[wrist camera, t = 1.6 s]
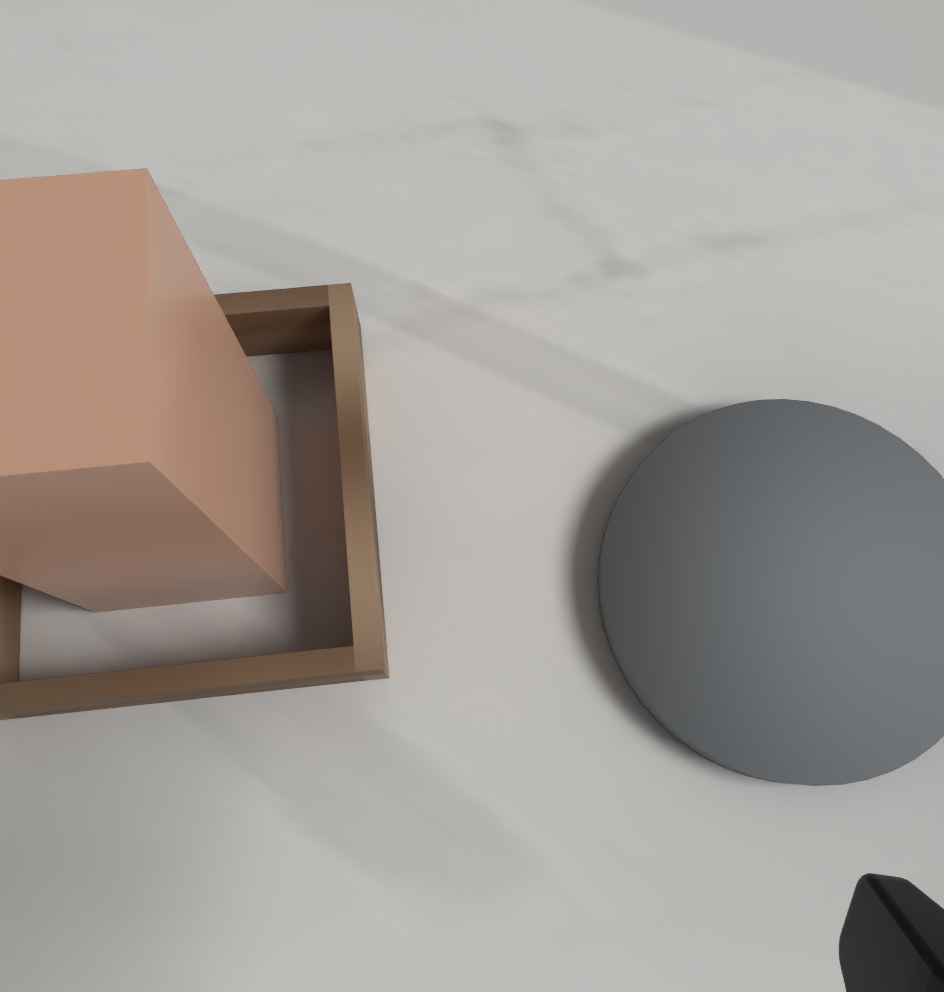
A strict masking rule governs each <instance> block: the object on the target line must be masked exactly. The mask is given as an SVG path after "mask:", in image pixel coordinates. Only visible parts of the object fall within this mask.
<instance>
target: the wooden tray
mask: <svg viewBox="0 0 944 992" xmlns="http://www.w3.org/2000/svg"><path fill="white" fill-rule="evenodd" d="M214 296H215V298H216V300H217V302H218V304H219V306H220V308H221V309H222V311H223V313H224V315H225V317H226V319H227V321H228V323H229V325H230V327H231V328H232V330H233V332H234V334H235V336H236V338H237V340H238V342H239V344H240V346H241V347H242V349H243V351H244V353H245V355H246V356H256V355H267V354H278V353H289V352H300V351H311V350H322V349H332V351H333V365H334V379H335V393H336V407H337V421H338V435H339V449H340V463H341V477H342V491H343V505H344V519H345V534H346V548H347V562H348V576H349V590H350V604H351V618H352V632H353V646H347V647H337V648H328V649H318V650H309V651H300V652H290V653H281V654H272V655H262V656H253V657H243V658H234V659H225V660H215V661H206V662H196V663H187V664H178V665H168V666H159V667H150V668H140V669H131V670H121V671H112V672H103V673H93V674H84V675H74V676H65V677H56V678H46V679H37V680H28V681H19V652H20V620H21V588H22V584H21V583H19V582H16V581H14V580H11V579H8V578H6V577H3V576H1V575H0V720H5V719H14V718H24V717H33V716H42V715H51V714H61V713H70V712H79V711H88V710H97V709H107V708H116V707H125V706H134V705H143V704H153V703H162V702H171V701H180V700H190V699H199V698H208V697H217V696H226V695H236V694H245V693H254V692H263V691H273V690H282V689H291V688H300V687H309V686H319V685H328V684H337V683H346V682H356V681H365V680H374V679H383V678H389V671H388V658H387V646H386V634H385V621H384V609H383V597H382V585H381V572H380V560H379V548H378V536H377V523H376V511H375V499H374V486H373V474H372V462H371V450H370V437H369V425H368V413H367V400H366V388H365V376H364V364H363V351H362V339H361V327H360V322H359V318H358V313H357V309H356V304H355V300H354V295H353V291H352V286H351V283H345V284H333V285H322V286H310V287H299V288H287V289H276V290H264V291H253V292H241V293H230V294H218V295H214Z"/></svg>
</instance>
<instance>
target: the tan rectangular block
mask: <svg viewBox="0 0 944 992" xmlns="http://www.w3.org/2000/svg"><path fill="white" fill-rule="evenodd" d="M0 575H1V576H3V577H6V578H8V579H11V580H14V581H16V582H19V583H21V584H24V585H26V586H29V587H31V588H34V589H37V590H39V591H42V592H44V593H47V594H49V595H52V596H54V597H57V598H60V599H62V600H65V601H67V602H70V603H72V604H75V605H78V606H80V607H83V608H85V609H88V610H90V611H93V612H103V611H113V610H123V609H133V608H142V607H152V606H162V605H171V604H181V603H191V602H200V601H210V600H220V599H229V598H239V597H249V596H258V595H268V594H278V593H287V584H286V564H285V545H284V526H283V506H282V487H281V468H280V449H279V429H278V416H277V414H276V412H275V410H274V408H273V406H272V404H271V402H270V401H269V399H268V397H267V395H266V393H265V391H264V389H263V387H262V385H261V383H260V382H259V380H258V378H257V376H256V374H255V372H254V370H253V368H252V366H251V364H250V363H249V361H248V359H247V357H246V355H245V353H244V351H243V349H242V347H241V346H240V344H239V342H238V340H237V338H236V336H235V334H234V332H233V330H232V328H231V327H230V325H229V323H228V321H227V319H226V317H225V315H224V313H223V311H222V309H221V308H220V306H219V304H218V302H217V300H216V298H215V296H214V294H213V292H212V291H211V289H210V287H209V285H208V283H207V281H206V279H205V277H204V275H203V273H202V272H201V270H200V268H199V266H198V264H197V262H196V260H195V258H194V256H193V254H192V253H191V251H190V249H189V247H188V245H187V243H186V241H185V239H184V237H183V236H182V234H181V232H180V230H179V228H178V226H177V224H176V222H175V220H174V218H173V217H172V215H171V213H170V211H169V209H168V207H167V205H166V203H165V201H164V199H163V198H162V196H161V194H160V192H159V190H158V188H157V186H156V184H155V182H154V181H153V179H152V177H151V175H150V173H149V171H148V169H147V168H145V169H132V170H120V171H108V172H95V173H83V174H70V175H58V176H45V177H33V178H21V179H8V180H0Z"/></svg>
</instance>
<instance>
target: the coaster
mask: <svg viewBox="0 0 944 992" xmlns="http://www.w3.org/2000/svg"><path fill="white" fill-rule="evenodd" d="M598 591H599V603H600V610H601V615H602V620H603V624H604V629H605V633H606V636H607V638H608V641H609V644H610V647H611V650H612V653H613V655H614V658H615V660H616V661H617V663H618V665H619V667H620V669H621V671H622V673H623V675H624V677H625V679H626V681H627V682H628V684H629V685H630V687H631V688H632V690H633V691H634V693H635V694H636V696H637V697H638V699H639V700H640V702H641V703H642V704H643V705H644V706H645V707H646V708H647V710H648V711H649V712H650V713H651V714H652V715H653V717H654V718H655V719H656V720H657V721H658V722H659V723H660V724H661V725H662V726H663V727H665V728H666V729H667V730H668V731H669V732H670V733H671V734H672V735H673V736H675V737H676V738H677V739H678V740H680V741H681V742H682V743H684V744H685V745H687V746H688V747H690V748H691V749H692V750H694V751H695V752H697V753H698V754H700V755H702V756H703V757H705V758H707V759H709V760H711V761H713V762H715V763H717V764H719V765H721V766H722V767H725V768H728V769H730V770H733V771H736V772H738V773H741V774H744V775H746V776H750V777H754V778H759V779H763V780H767V781H772V782H780V783H791V784H801V785H812V786H820V785H842V784H847V783H852V782H858V781H863V780H868V779H871V778H874V777H877V776H879V775H882V774H885V773H888V772H891V771H893V770H895V769H897V768H899V767H901V766H903V765H905V764H907V763H909V762H911V761H912V760H914V759H916V758H917V757H919V756H920V755H921V754H923V753H924V752H925V751H927V750H928V749H930V748H931V747H932V746H934V745H935V744H936V743H937V742H938V741H939V740H940V739H941V738H942V737H943V736H944V479H943V478H942V476H941V475H940V474H939V473H938V471H937V470H936V469H935V468H933V467H932V466H931V465H930V464H929V463H928V462H927V461H926V460H925V459H924V458H923V457H922V456H921V455H920V454H919V453H918V452H917V451H915V450H914V449H913V448H912V447H910V446H909V445H908V444H906V443H905V442H904V441H903V440H901V439H900V438H899V437H897V436H895V435H894V434H892V433H890V432H889V431H887V430H886V429H884V428H882V427H881V426H879V425H877V424H875V423H873V422H871V421H869V420H867V419H864V418H862V417H860V416H858V415H856V414H853V413H850V412H847V411H844V410H841V409H838V408H835V407H832V406H828V405H823V404H818V403H814V402H809V401H799V400H787V399H775V400H757V401H751V402H744V403H738V404H734V405H731V406H727V407H724V408H721V409H717V410H714V411H712V412H710V413H707V414H705V415H703V416H701V417H698V418H696V419H694V420H692V421H691V422H689V423H687V424H686V425H684V426H683V427H681V428H679V429H678V430H676V431H674V432H673V433H672V434H671V435H669V436H668V437H667V438H666V439H665V440H663V441H662V442H661V443H660V444H659V445H657V446H656V447H655V448H654V449H653V451H652V452H651V453H650V454H649V455H648V456H647V457H646V458H645V459H644V460H643V462H642V463H641V464H640V465H639V467H638V468H637V470H636V471H635V473H634V474H633V475H632V477H631V478H630V480H629V481H628V483H627V484H626V486H625V487H624V489H623V491H622V492H621V494H620V496H619V498H618V500H617V502H616V504H615V506H614V508H613V510H612V512H611V514H610V517H609V520H608V523H607V526H606V529H605V532H604V535H603V540H602V546H601V551H600V556H599V569H598Z"/></svg>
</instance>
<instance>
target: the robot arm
mask: <svg viewBox="0 0 944 992" xmlns="http://www.w3.org/2000/svg"><path fill="white" fill-rule="evenodd" d="M839 960H840V965H841V970H842V974H843V979H844V983H845V988H846V992H944V909H943V908H942V907H941V906H939V905H938V904H937V903H936V902H934V901H933V900H932V899H931V898H929V897H928V896H927V895H926V894H925V893H923V892H922V891H921V890H920V889H918V888H917V887H916V886H915V885H913V884H912V883H911V882H909V881H908V880H906V879H903V878H900V877H893V876H886V875H878V874H871V873H869V874H865V875H863V876H862V877H861V878H860V879H859V880H858V882H857V885H856V887H855V890H854V893H853V897H852V900H851V903H850V906H849V909H848V913H847V916H846V919H845V922H844V925H843V928H842V932H841V935H840V940H839Z"/></svg>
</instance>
